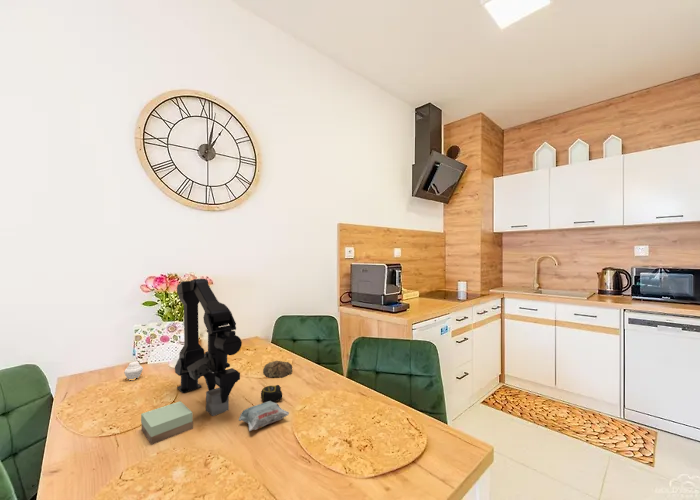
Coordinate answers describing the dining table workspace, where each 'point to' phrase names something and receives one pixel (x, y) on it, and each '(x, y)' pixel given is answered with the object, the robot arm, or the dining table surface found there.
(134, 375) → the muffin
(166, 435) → the bottom block
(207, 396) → the grey block
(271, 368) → the bread roll
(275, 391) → the tape measure
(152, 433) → the top block
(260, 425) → the packaged food
